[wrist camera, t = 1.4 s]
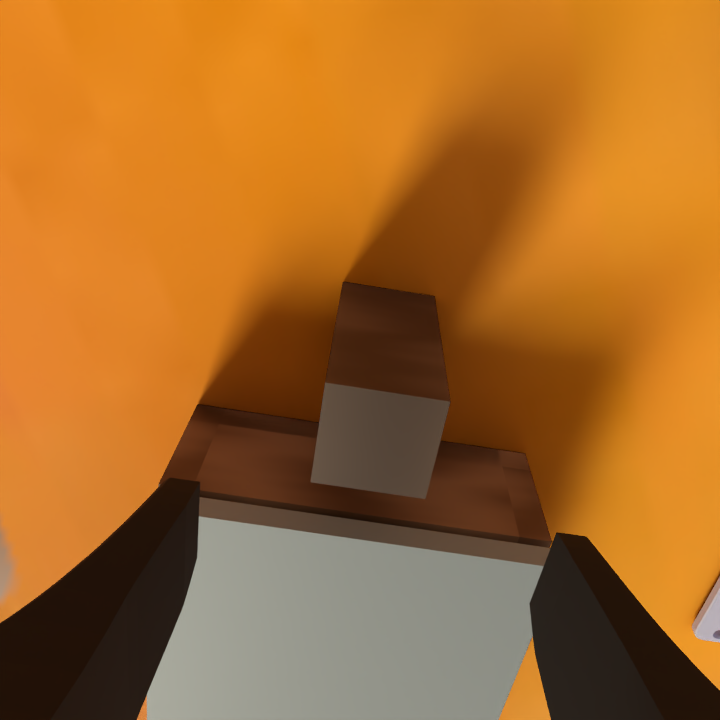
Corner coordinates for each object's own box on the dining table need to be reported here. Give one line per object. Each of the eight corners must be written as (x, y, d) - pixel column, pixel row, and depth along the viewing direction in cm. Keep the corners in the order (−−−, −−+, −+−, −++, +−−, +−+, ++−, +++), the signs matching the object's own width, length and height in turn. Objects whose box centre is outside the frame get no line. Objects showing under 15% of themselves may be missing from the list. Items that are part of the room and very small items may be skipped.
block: (434, 296, 21) (450, 401, 16) (416, 375, 23) (425, 498, 17) (342, 281, 21) (325, 382, 16) (330, 362, 23) (310, 482, 17)
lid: (553, 548, 20) (573, 612, 18) (447, 819, 27) (452, 888, 25) (155, 490, 19) (126, 549, 17) (153, 780, 26) (133, 847, 24)
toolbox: (525, 453, 24) (551, 541, 20) (439, 708, 31) (446, 811, 27) (197, 404, 24) (158, 484, 20) (186, 674, 31) (156, 773, 27)
